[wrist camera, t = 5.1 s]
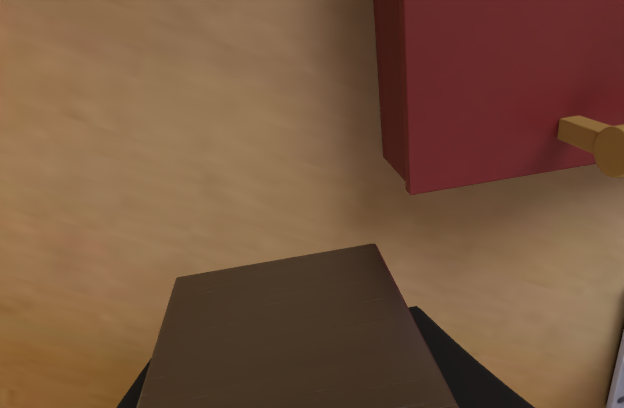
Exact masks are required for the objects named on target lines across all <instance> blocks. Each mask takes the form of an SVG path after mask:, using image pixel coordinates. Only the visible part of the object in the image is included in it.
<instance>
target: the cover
mask: <svg viewBox="0 0 624 408" xmlns="http://www.w3.org/2000/svg"><path fill="white" fill-rule="evenodd" d="M398 3H399V28H400V54H401V79H402V105H403V130H404V156H405V181H406V190H407V192H408V193H409V194H410V195H414V194H419V193H425V192H431V191H437V190H443V189H449V188H455V187H461V186H467V185H473V184H479V183H484V182H490V181H496V180H502V179H508V178H514V177H520V176H526V175H532V174H538V173H544V172H550V171H555V170H561V169H567V168H573V167H579V166H585V165H591V164H597V166H598V167H599V169H600V170H601V171H602V172H603V173H604V174H605V175H607V176H610V177H613V178H619V177H624V0H398Z"/></svg>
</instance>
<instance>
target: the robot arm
mask: <svg viewBox="0 0 624 408" xmlns="http://www.w3.org/2000/svg"><path fill="white" fill-rule="evenodd" d="M408 309H409V310H410V312H411V314H412V316H413V318H414V320H415V322H416V324H417V326H418V328H419V330H420V332H421V334H422V336H423V338H424V340H425V342H426V344H427V346H428V348H429V350H430V352H431V354H432V356H433V358H434V360H435V362H436V363H437V365H438V367H439V369H440V371H441V373H442V375H443V377H444V379H445V381H446V383H447V385H448V387H449V389H450V391H451V393H452V395H453V397H454V399H455V401H456V403H457V405H458V407H459V408H535V407H533V406H532V405H531V404H529V403H528V402H527V401H525V400H524V399H523V398H522V397H520V396H519V395H518V394H517V393H515V392H514V391H513V390H512V389H510V388H509V387H508V386H507V385H505V384H504V383H503V382H502V381H500V380H499V379H498V378H497V377H496V376H495V375H493V374H492V373H491V372H490V371H489V370H487V369H486V368H485V367H484V366H483V365H481V364H480V363H479V362H478V361H477V360H475V359H474V358H473V357H472V356H471V355H470V354H469V353H467V352H466V351H465V350H464V349H463V348H462V347H461V346H460V345H459V344H457V343H456V342H455V341H454V340H453V339H452V338H451V337H450V336H449V335H448V334H447V333H445V332H444V331H443V330H442V329H441V328H440V327H439V326H438V325H437V324H436V323H435V322H434V321H433V320H432V319H431V318H430V317H428V316H427V315H426V314H425V313H424V312H423V311H422V310H421V309H420V308H418V307H417V306H414V307H409V308H408ZM150 362H151V359H150V361H149V362H148V363H147V365H146V366H145V368H144V369H143V370H142V372H141V373H140V375H139V376H138V378H137V379H136V380H135V382H134V383H133V385H132V386H131V388H130V389H129V390H128V392H127V393H126V395H125V396H124V398H123V399H122V400H121V402H120V403H119V405H118V406H117V407H116V408H136V407H137V404H138V401H139V398H140V394H141V391H142V388H143V384H144V381H145V378H146V375H147V371H148V368H149V365H150ZM606 408H624V331H623V335H622V339H621V344H620V348H619V353H618V357H617V361H616V366H615V370H614V375H613V379H612V383H611V388H610V392H609V397H608V401H607V405H606Z"/></svg>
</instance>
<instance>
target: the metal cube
mask: <svg viewBox="0 0 624 408" xmlns="http://www.w3.org/2000/svg"><path fill="white" fill-rule="evenodd" d="M136 408H459V407H458V405H457V403H456V401H455V399H454V397H453V395H452V393H451V391H450V389H449V387H448V385H447V383H446V381H445V379H444V377H443V375H442V373H441V371H440V369H439V367H438V365H437V363H436V362H435V360H434V358H433V356H432V354H431V352H430V350H429V348H428V346H427V344H426V342H425V340H424V338H423V336H422V334H421V332H420V330H419V328H418V326H417V324H416V322H415V320H414V318H413V316H412V314H411V312H410V310H409V309H408V307H407V305H406V303H405V301H404V299H403V297H402V295H401V293H400V291H399V289H398V287H397V285H396V283H395V281H394V279H393V277H392V275H391V273H390V271H389V269H388V267H387V265H386V263H385V261H384V259H383V257H382V256H381V254H380V252H379V250H378V248H377V246H376V244H367V245H362V246H356V247H350V248H344V249H338V250H333V251H327V252H321V253H315V254H309V255H304V256H298V257H292V258H286V259H281V260H275V261H269V262H263V263H257V264H252V265H246V266H240V267H234V268H228V269H223V270H217V271H211V272H205V273H200V274H194V275H188V276H182V277H178V278H176V280H175V284H174V287H173V290H172V293H171V297H170V300H169V303H168V306H167V310H166V313H165V316H164V319H163V323H162V326H161V329H160V332H159V336H158V339H157V342H156V345H155V349H154V352H153V355H152V358H151V362H150V365H149V368H148V371H147V375H146V378H145V381H144V384H143V388H142V391H141V394H140V398H139V401H138V404H137V407H136Z"/></svg>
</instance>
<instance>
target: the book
mask: <svg viewBox="0 0 624 408" xmlns="http://www.w3.org/2000/svg"><path fill="white" fill-rule="evenodd" d="M374 16H375V32H376V48H377V64H378V80H379V96H380V112H381V127H382V143H383V157H384V158H385V159H386V160H387V161H388V162H389V163H390V165H391V166H392V167H393V168H394V169H395V170H396V171H397V172H398V174H399V175H400V176H401V177H402V178H403V179H404V180H405V156H404V130H403V105H402V79H401V54H400V28H399V3H398V0H374Z"/></svg>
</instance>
